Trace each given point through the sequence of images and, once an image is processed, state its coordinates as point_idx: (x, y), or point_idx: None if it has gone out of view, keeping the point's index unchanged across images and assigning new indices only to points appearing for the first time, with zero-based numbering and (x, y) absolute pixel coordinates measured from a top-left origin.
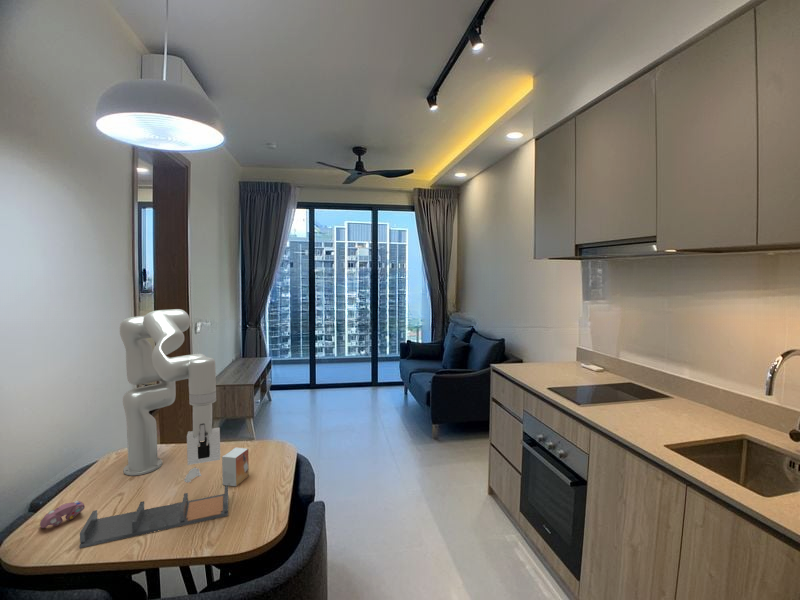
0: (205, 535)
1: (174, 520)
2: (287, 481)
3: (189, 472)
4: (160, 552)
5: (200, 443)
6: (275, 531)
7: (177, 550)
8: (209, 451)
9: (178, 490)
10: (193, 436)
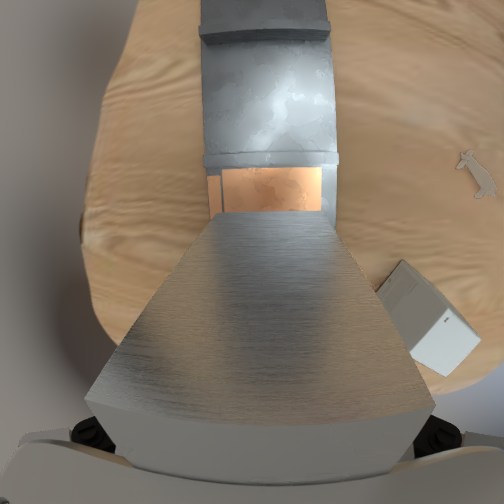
0: (146, 228)
1: (226, 135)
2: None
3: (482, 168)
4: (112, 134)
5: (84, 423)
6: None
7: (108, 172)
8: None
9: (428, 131)
10: (17, 450)
